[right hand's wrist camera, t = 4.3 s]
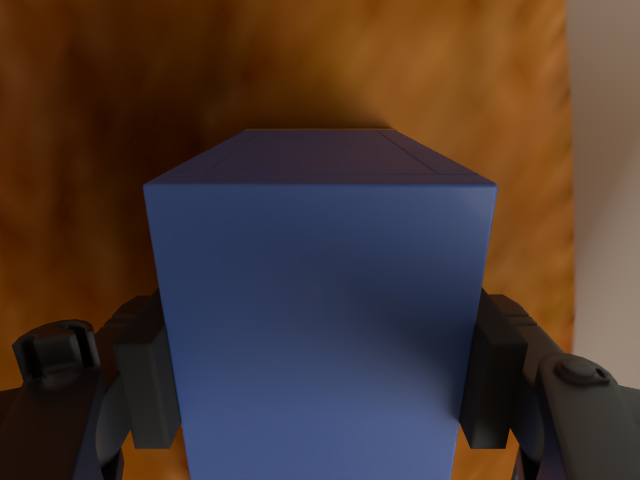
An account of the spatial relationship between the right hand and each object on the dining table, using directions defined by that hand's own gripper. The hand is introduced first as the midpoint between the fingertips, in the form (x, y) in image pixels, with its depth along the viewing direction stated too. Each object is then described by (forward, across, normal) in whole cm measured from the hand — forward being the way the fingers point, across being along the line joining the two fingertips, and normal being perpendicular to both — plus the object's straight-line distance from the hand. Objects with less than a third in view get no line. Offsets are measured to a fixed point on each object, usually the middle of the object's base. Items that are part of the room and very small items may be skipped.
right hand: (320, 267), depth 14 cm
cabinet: (+5, 0, -4) cm, 7 cm away
